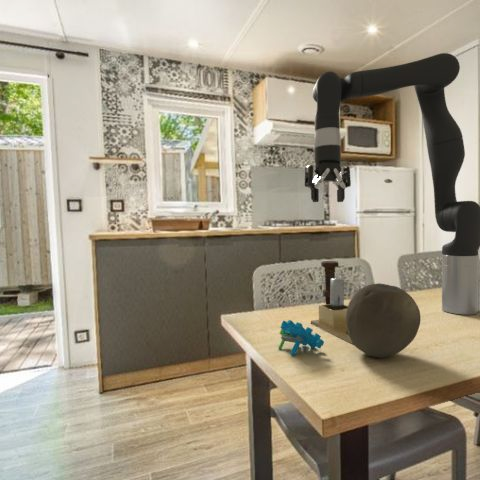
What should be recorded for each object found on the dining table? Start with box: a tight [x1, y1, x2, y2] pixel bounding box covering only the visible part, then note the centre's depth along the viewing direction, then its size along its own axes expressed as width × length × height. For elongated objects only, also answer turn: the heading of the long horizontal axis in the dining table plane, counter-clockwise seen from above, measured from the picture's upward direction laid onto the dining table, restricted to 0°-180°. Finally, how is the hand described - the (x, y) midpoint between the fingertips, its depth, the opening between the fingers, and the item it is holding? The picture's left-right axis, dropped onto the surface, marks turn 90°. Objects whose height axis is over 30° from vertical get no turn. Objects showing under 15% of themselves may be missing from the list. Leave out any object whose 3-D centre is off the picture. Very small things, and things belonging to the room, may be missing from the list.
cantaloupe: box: [346, 282, 421, 359], centre depth 73 cm, size 14×14×15 cm
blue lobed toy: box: [277, 319, 325, 356], centre depth 76 cm, size 11×6×10 cm
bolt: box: [320, 260, 339, 305], centre depth 115 cm, size 6×5×15 cm
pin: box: [330, 277, 345, 310], centre depth 94 cm, size 4×4×12 cm
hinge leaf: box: [310, 303, 354, 345], centre depth 91 cm, size 12×18×5 cm, turn 20°
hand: (328, 202), depth 102 cm, fingers open, 8 cm apart
